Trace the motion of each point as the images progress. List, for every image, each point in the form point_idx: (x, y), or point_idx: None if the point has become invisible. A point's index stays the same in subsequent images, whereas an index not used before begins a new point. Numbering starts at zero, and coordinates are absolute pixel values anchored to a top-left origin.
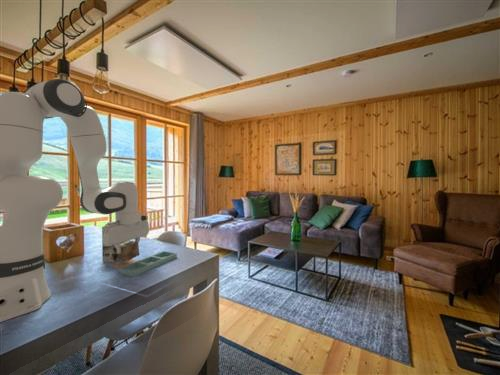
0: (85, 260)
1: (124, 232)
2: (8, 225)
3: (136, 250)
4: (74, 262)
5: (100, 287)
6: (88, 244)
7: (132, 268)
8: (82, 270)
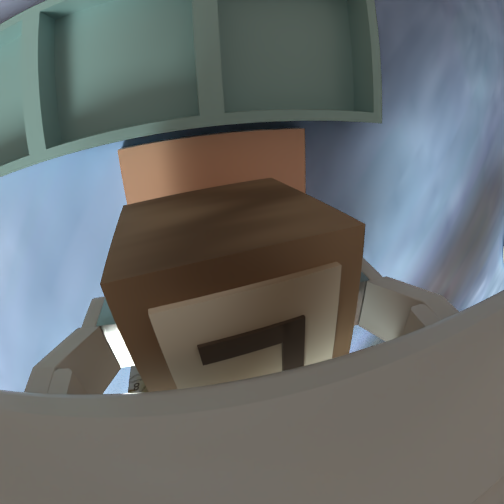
0: None
1: (488, 487)
2: None
3: (156, 219)
4: None
5: (467, 79)
6: None
7: (261, 102)
8: (373, 335)
